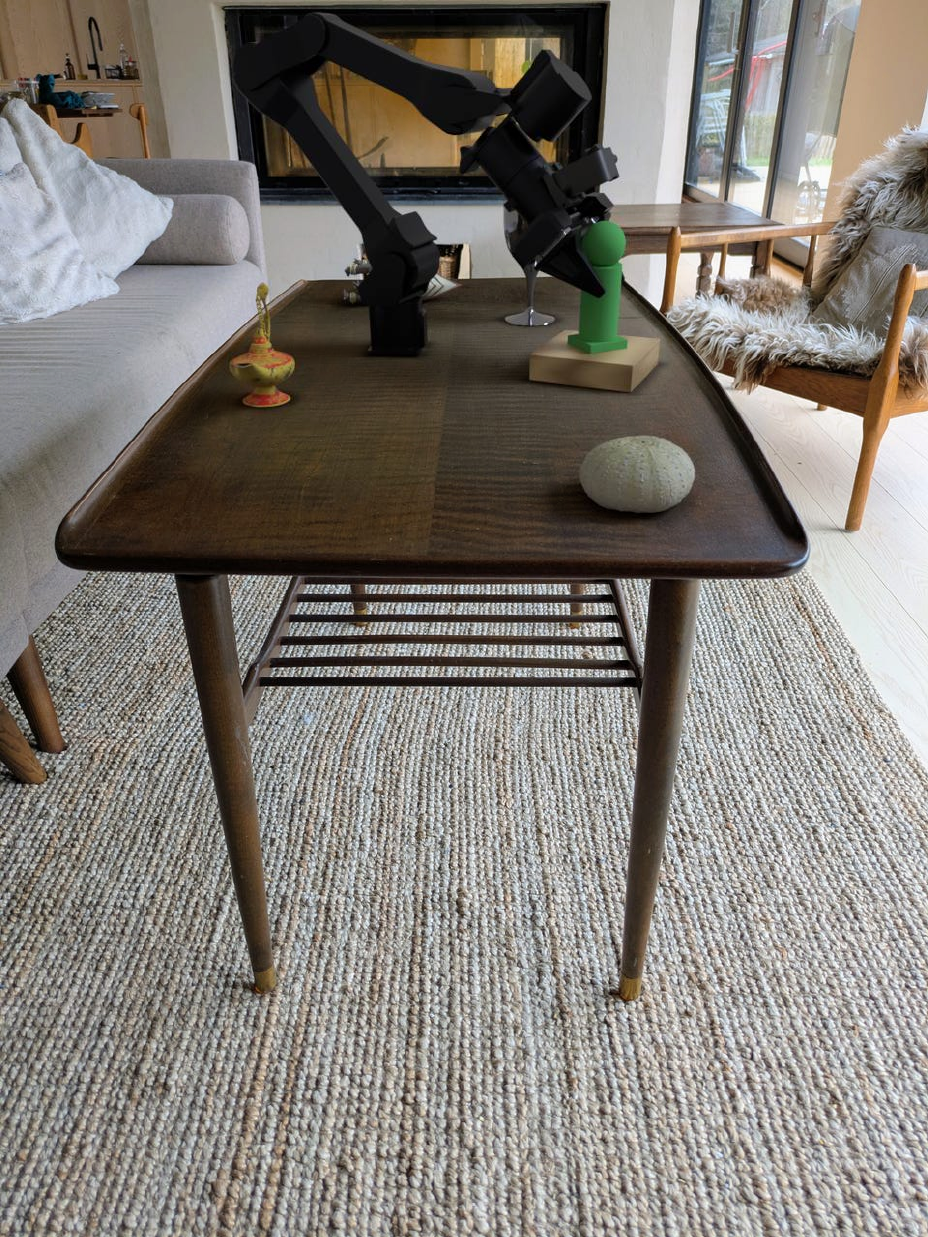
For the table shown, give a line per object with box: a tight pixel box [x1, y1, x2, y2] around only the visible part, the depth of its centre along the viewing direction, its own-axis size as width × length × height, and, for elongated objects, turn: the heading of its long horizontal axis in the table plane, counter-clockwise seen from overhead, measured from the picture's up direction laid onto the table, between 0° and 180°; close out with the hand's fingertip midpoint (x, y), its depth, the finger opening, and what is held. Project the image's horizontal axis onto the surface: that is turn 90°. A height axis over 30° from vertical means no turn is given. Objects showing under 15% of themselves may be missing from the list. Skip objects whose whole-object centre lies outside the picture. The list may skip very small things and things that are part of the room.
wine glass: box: [502, 202, 556, 327], centre depth 124 cm, size 8×8×15 cm
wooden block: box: [528, 329, 661, 393], centre depth 105 cm, size 12×12×3 cm
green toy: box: [568, 220, 628, 354], centre depth 101 cm, size 5×5×13 cm
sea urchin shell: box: [578, 435, 696, 514], centre depth 74 cm, size 9×8×8 cm
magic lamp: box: [229, 282, 296, 408], centre depth 94 cm, size 7×18×11 cm, turn 2°
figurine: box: [343, 258, 462, 304], centre depth 138 cm, size 20×6×17 cm
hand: (612, 288), depth 101 cm, fingers open, 7 cm apart
